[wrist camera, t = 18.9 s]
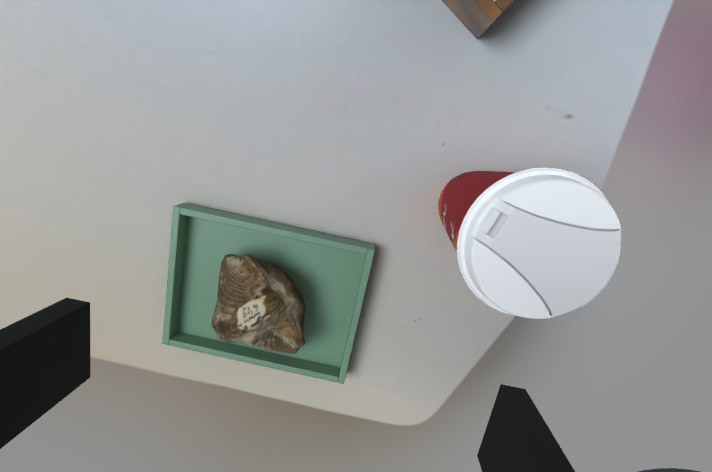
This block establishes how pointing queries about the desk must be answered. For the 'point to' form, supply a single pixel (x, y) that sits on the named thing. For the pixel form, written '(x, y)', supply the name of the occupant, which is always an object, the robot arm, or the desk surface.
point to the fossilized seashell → (258, 305)
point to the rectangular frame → (477, 13)
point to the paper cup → (531, 239)
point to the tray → (288, 251)
